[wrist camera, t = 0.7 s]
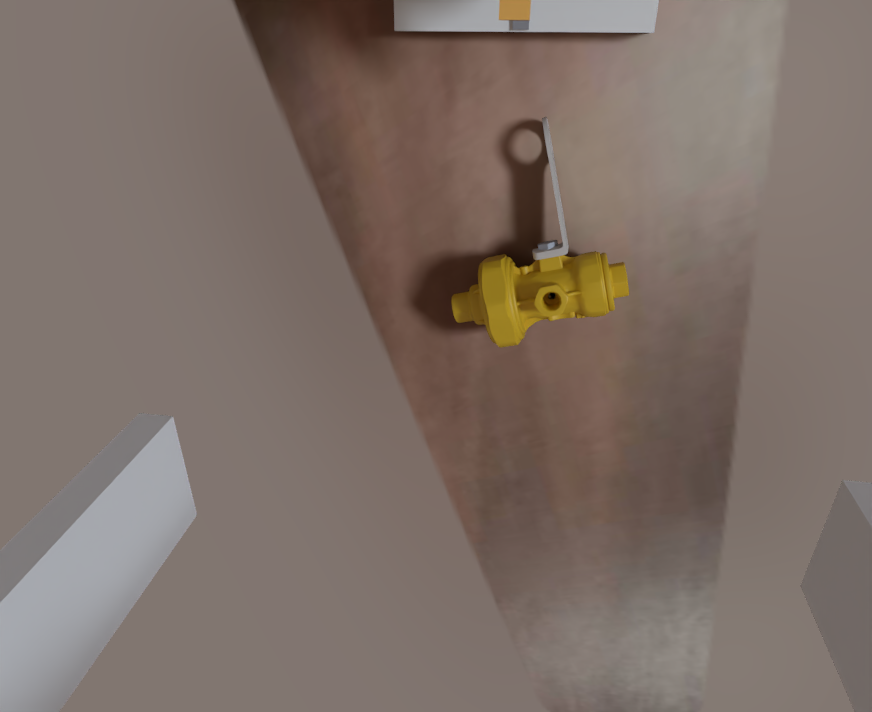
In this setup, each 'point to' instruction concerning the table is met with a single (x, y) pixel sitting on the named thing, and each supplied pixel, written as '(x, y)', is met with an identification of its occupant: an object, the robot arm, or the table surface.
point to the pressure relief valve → (540, 284)
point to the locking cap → (515, 10)
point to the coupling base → (550, 12)
